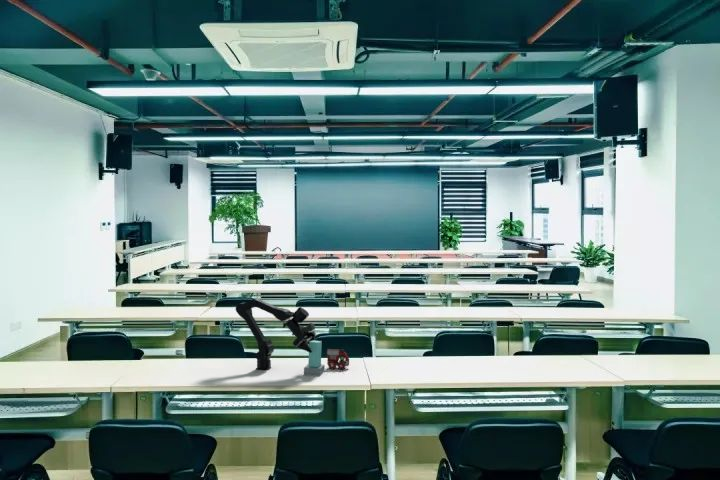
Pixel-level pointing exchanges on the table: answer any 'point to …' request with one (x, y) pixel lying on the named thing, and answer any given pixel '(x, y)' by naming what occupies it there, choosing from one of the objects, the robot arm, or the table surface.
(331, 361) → the toy fire truck
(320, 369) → the base brick
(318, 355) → the teal block
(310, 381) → the table surface
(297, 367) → the table surface
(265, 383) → the table surface
